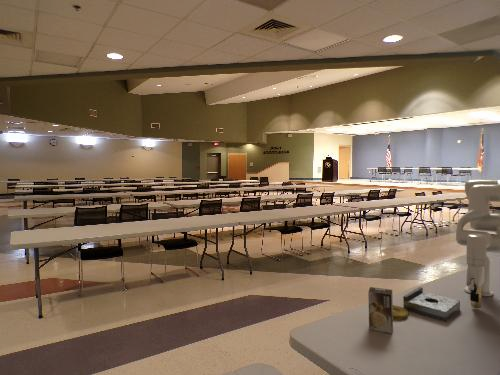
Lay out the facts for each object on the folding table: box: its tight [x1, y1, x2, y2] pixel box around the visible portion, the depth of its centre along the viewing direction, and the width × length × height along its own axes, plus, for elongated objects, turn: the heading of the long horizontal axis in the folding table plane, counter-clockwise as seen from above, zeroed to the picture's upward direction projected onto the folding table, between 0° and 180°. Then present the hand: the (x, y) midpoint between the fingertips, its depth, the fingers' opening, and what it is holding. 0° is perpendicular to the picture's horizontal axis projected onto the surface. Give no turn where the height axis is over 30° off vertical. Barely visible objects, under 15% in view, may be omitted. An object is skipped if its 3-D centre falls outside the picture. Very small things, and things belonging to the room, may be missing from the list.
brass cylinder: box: [470, 285, 482, 309], centre depth 153 cm, size 4×4×10 cm
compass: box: [393, 304, 409, 321], centre depth 151 cm, size 12×12×2 cm
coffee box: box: [367, 286, 394, 334], centre depth 137 cm, size 9×6×16 cm
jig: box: [402, 286, 461, 323], centre depth 154 cm, size 18×18×6 cm
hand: (476, 299), depth 154 cm, fingers closed on brass cylinder, 4 cm apart
